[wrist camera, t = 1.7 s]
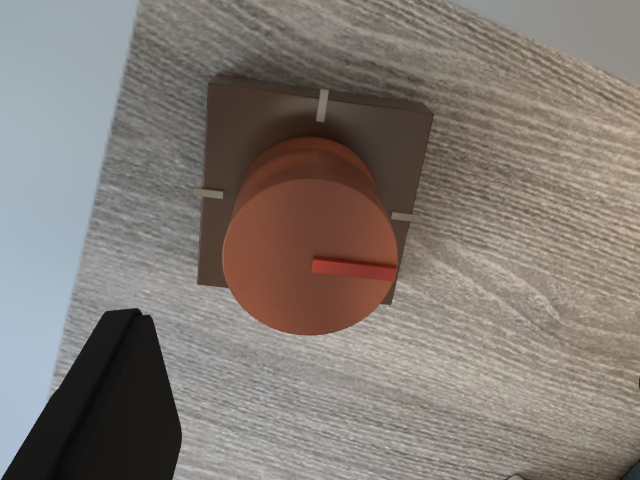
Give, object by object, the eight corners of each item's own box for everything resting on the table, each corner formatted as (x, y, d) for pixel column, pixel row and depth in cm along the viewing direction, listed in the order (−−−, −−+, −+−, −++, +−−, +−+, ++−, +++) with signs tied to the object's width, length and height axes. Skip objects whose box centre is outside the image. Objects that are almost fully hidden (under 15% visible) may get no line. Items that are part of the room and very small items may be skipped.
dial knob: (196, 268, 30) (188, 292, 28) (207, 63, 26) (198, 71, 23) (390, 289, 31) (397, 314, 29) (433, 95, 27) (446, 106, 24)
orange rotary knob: (233, 259, 27) (215, 331, 22) (244, 126, 25) (227, 169, 19) (364, 273, 28) (381, 348, 22) (390, 145, 25) (416, 193, 19)
